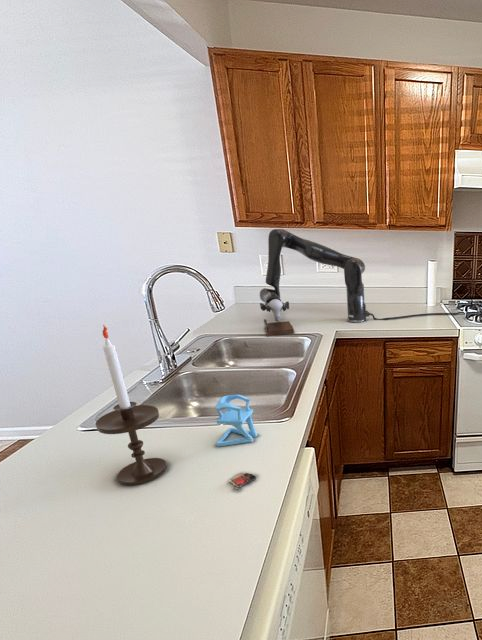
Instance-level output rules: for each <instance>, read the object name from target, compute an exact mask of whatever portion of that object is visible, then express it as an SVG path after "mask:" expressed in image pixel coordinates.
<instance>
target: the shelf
mask: <svg viewBox="0 0 482 640" xmlns="http://www.w3.org/2000/svg"><path fill="white" fill-rule="evenodd" d="M263 326H264V330H265V333H266V336H267V337H274V336H275V337H276V336H285V335H294V334H295V329H294V327H293V325H292V323H291V321H289V320H287V321H286V320H285V321H276V322H268V321H267V319H265V318H264V319H263Z"/></svg>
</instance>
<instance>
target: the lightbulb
mask: <svg viewBox="0 0 482 640" xmlns="http://www.w3.org/2000/svg"><path fill="white" fill-rule="evenodd" d="M281 301H282V300H281ZM281 301H280V300H278V299H273V300H272V301H271V302H270V304H269V307H270V309H271V310H272V311H271V310H270V311H271V312H272V314H273V318H274V321H276V322H280V321H281V313H282V311H283V309H282V308H283V304H282V302H283V301H282V302H281Z"/></svg>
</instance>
